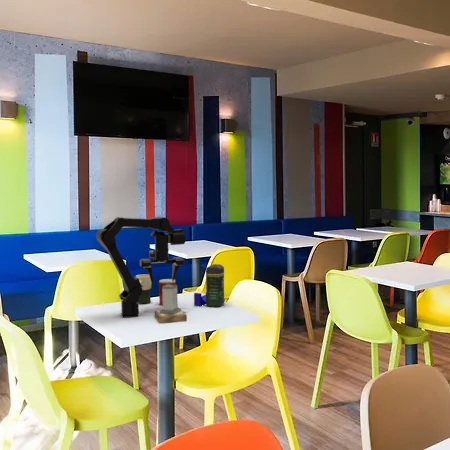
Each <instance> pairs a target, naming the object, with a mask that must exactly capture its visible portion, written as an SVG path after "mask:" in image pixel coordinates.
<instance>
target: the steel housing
mask: <svg viewBox="0 0 450 450" xmlns="http://www.w3.org/2000/svg"><path fill="white" fill-rule="evenodd" d="M162 292H163V305H162V309H160V313H161V314H172V315H174V314H176V313H178V312H180V311H181V310H182V308H181V307H178V305H179V304H178V303H179V302H178V284H176V285H168V284H167V285H165V286H162Z"/></svg>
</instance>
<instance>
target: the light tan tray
mask: <svg viewBox="0 0 450 450" xmlns="http://www.w3.org/2000/svg"><path fill="white" fill-rule="evenodd" d="M160 310H161V309H160ZM160 310H154V318H155V320H157V322H158V323H159V324H167V323H168V324H169V323H178V322H179V323H180V322H187V320H188V315H187V314H186V313H185V312H184V311H183V310H182V309H181V311H180V312H178V313H176V314H174V315H172V314H161V313H160Z"/></svg>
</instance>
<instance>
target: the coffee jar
mask: <svg viewBox="0 0 450 450" xmlns="http://www.w3.org/2000/svg"><path fill="white" fill-rule="evenodd" d="M205 278H206V279H205V280H206V283H205V284H206V285H205V291H206V292H205V295H206V305H205V306H208V307H212V308H215V307H222V306H223V305H224V304H225V266H223V265H222V264H217V263H215V264H211V265H209V266H208V267H206V268H205Z"/></svg>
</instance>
